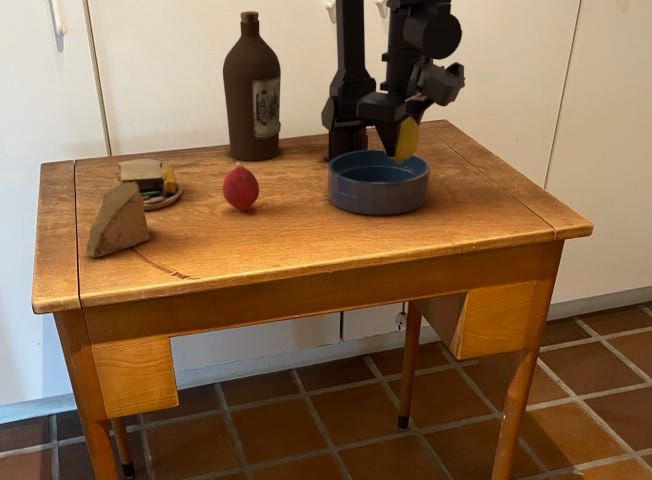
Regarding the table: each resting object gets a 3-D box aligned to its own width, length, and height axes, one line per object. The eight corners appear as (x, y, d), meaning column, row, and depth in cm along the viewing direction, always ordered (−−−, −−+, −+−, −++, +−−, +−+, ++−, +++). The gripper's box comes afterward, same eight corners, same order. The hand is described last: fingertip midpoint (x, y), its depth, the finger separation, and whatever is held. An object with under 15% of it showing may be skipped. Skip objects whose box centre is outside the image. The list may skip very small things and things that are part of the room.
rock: (84, 254, 102) (154, 235, 103) (67, 196, 103) (136, 177, 104) (93, 268, 113) (156, 250, 114) (77, 215, 113) (140, 198, 114)
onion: (264, 205, 120) (263, 158, 116) (253, 219, 116) (250, 170, 112) (231, 202, 122) (228, 155, 118) (218, 216, 118) (215, 167, 113)
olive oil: (216, 154, 143) (206, 14, 129) (255, 141, 149) (250, 5, 135) (254, 166, 136) (248, 20, 122) (293, 152, 142) (292, 11, 128)
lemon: (416, 170, 114) (421, 118, 109) (380, 169, 115) (383, 117, 110) (417, 158, 118) (421, 107, 114) (382, 157, 119) (385, 107, 115)
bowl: (309, 204, 120) (309, 171, 117) (358, 174, 131) (359, 143, 128) (398, 225, 112) (401, 191, 109) (443, 191, 123) (446, 159, 120)
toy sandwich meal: (104, 214, 120) (100, 186, 117) (114, 184, 131) (110, 158, 128) (181, 210, 120) (178, 182, 117) (184, 181, 131) (182, 155, 129)
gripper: (431, 64, 96) (420, 179, 105) (485, 38, 108) (472, 143, 117) (356, 56, 102) (352, 165, 111) (416, 31, 114) (408, 132, 123)
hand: (399, 151), depth 115 cm, fingers closed on lemon, 5 cm apart
